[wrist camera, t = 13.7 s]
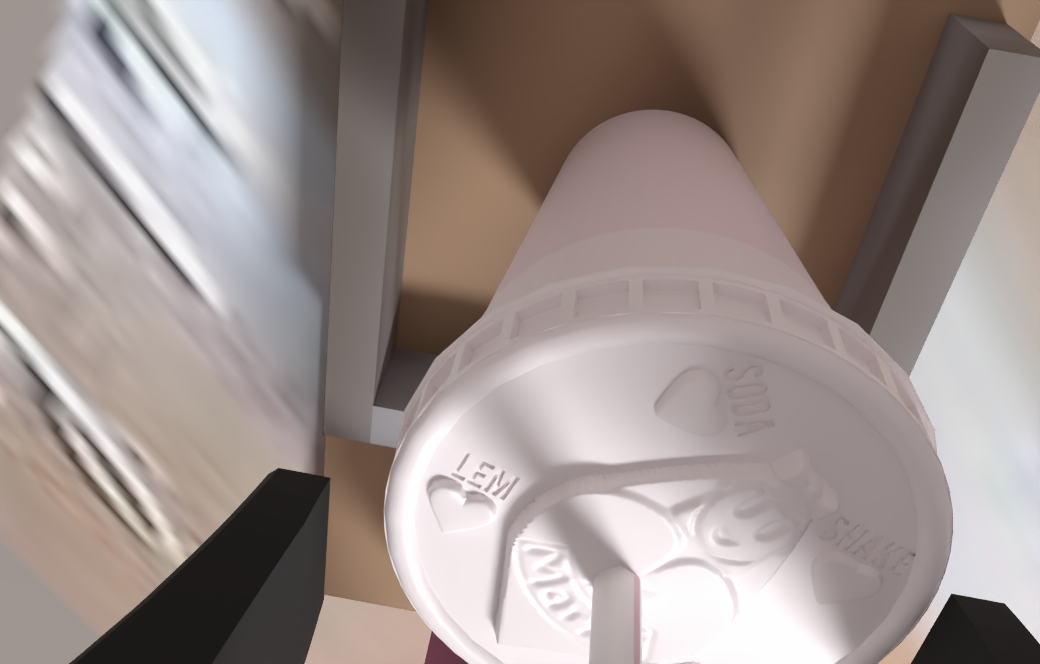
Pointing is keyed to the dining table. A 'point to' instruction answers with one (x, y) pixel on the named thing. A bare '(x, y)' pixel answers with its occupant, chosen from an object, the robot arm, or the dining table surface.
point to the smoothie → (665, 438)
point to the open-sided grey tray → (606, 94)
